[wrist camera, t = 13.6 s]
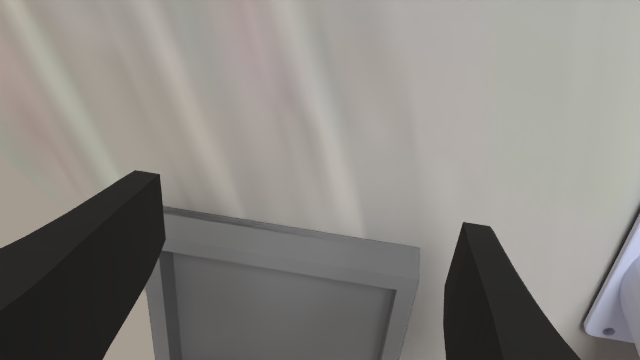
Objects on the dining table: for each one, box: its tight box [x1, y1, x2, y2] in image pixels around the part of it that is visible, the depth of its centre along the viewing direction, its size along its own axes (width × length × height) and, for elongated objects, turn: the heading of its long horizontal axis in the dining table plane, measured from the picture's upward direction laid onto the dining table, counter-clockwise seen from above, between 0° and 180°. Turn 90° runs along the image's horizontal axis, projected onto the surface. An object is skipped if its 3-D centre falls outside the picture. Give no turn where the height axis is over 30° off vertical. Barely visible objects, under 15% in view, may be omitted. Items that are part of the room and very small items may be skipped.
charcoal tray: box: [146, 206, 420, 360], centre depth 29 cm, size 12×12×2 cm
